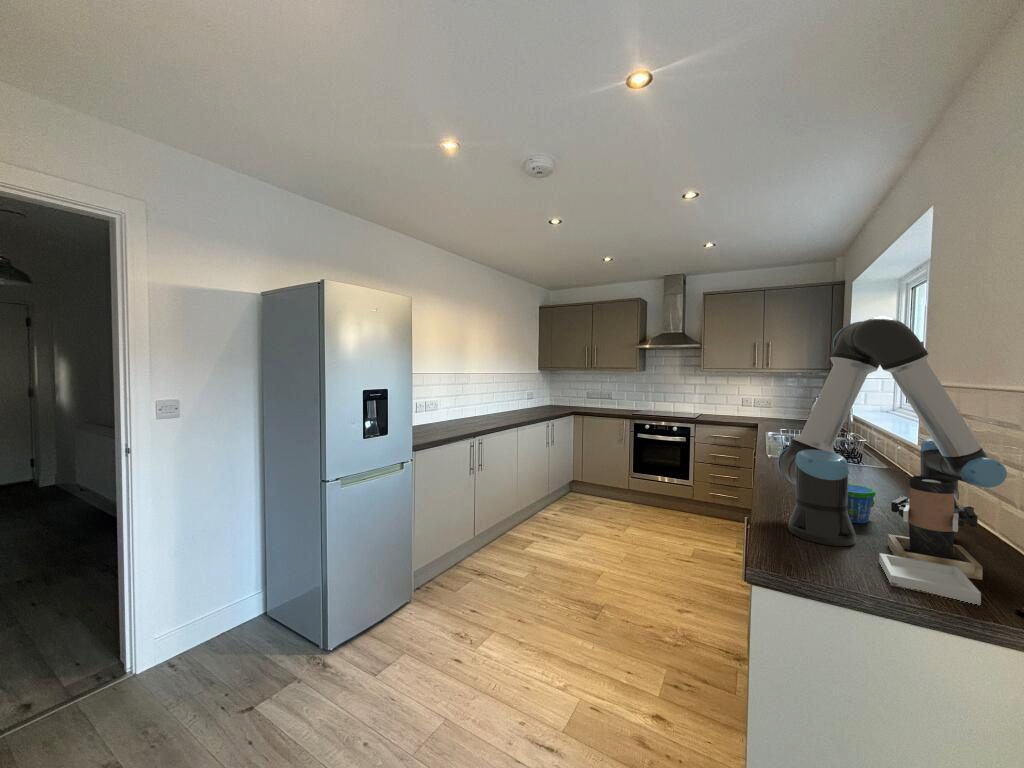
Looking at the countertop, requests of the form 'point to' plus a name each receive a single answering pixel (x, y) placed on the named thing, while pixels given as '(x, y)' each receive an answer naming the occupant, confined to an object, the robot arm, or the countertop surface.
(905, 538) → the wooden holder
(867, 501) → the snack cup
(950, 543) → the travel mug
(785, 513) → the countertop surface
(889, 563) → the grey tray
